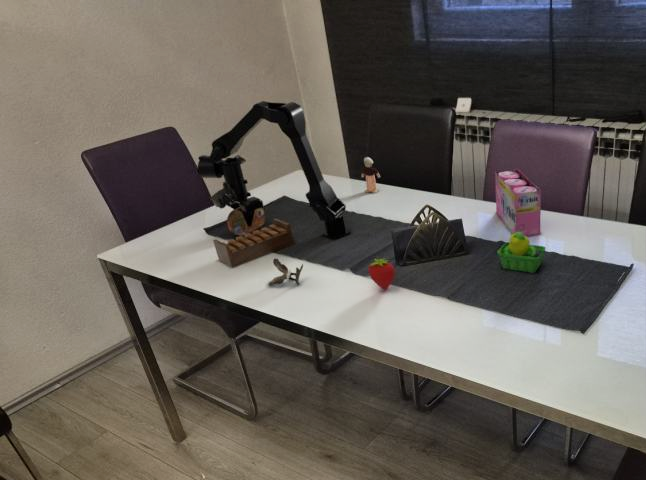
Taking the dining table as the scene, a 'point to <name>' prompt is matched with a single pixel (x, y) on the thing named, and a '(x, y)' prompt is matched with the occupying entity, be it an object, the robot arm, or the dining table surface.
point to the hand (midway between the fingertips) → (246, 225)
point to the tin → (239, 224)
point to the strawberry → (382, 273)
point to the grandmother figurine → (370, 175)
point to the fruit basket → (521, 254)
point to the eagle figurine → (285, 273)
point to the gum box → (518, 202)
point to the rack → (254, 244)
